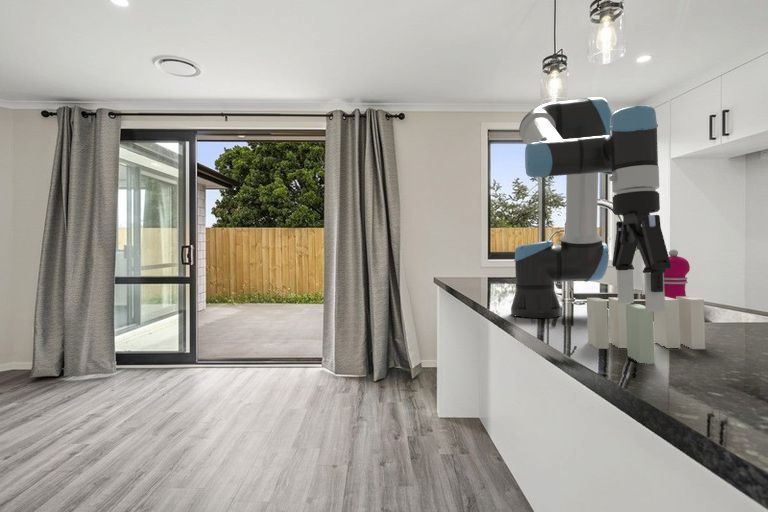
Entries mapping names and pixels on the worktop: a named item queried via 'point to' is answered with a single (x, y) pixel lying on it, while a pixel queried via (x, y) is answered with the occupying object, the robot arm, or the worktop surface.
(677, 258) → the pepper mill
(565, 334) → the worktop surface
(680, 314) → the tile
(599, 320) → the tile
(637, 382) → the worktop surface
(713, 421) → the worktop surface
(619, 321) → the tile
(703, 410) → the worktop surface
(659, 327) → the tile
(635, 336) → the tile
